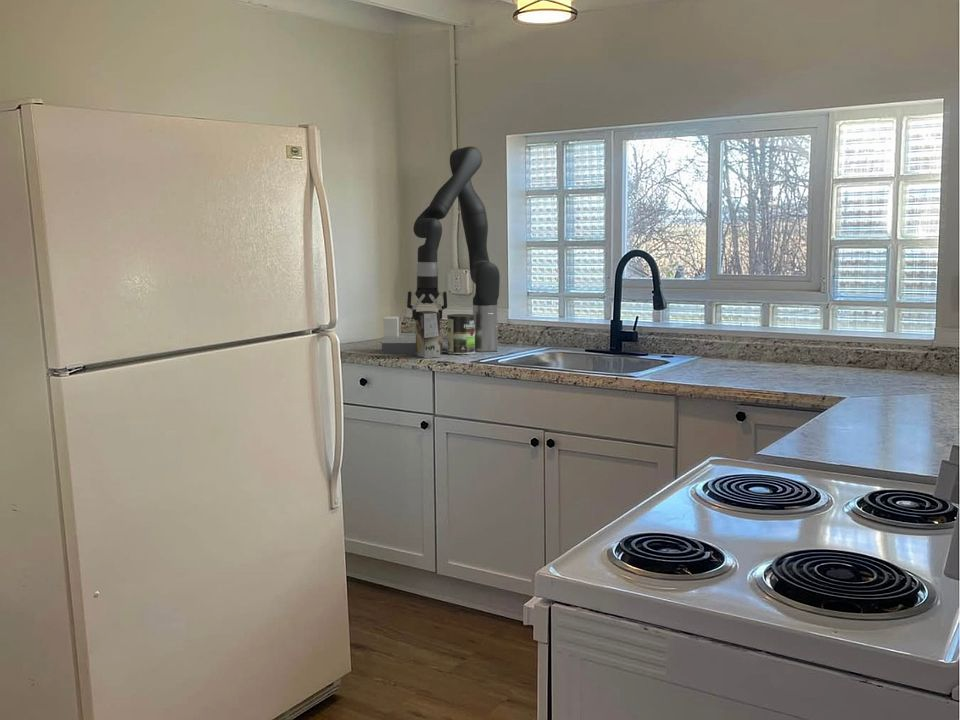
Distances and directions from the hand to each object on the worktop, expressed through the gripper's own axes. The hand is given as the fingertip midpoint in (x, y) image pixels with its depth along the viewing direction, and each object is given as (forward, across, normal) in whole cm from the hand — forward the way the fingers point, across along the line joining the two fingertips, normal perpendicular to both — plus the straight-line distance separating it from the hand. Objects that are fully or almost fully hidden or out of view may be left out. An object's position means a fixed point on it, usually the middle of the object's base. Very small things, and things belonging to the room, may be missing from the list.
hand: (427, 320), depth 323 cm
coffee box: (+13, 0, 0) cm, 13 cm away
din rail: (+9, +6, -14) cm, 17 cm away
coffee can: (+13, -12, -9) cm, 20 cm away
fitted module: (+8, +14, -14) cm, 21 cm away
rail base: (+13, +6, -14) cm, 20 cm away
